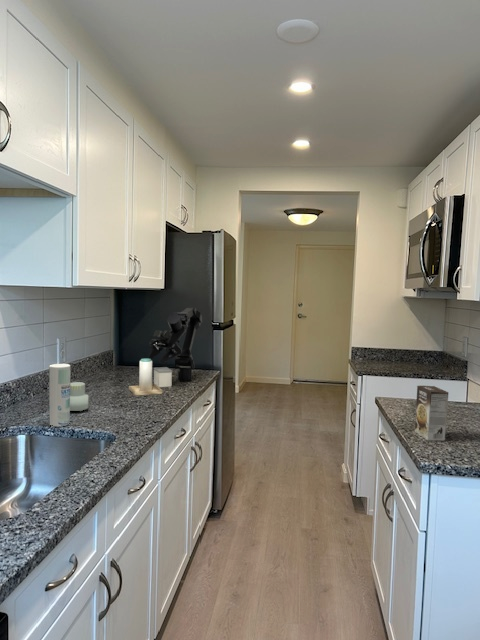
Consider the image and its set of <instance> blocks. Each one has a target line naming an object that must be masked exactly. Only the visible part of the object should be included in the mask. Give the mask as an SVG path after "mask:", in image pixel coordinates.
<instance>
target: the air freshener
mask: <svg viewBox="0 0 480 640" xmlns="http://www.w3.org/2000/svg"><path fill="white" fill-rule="evenodd" d="M87 409H89V394H87V393H86V383H85V382H80V381H78V382H77V381H76V382H75V381H74V382H70V411H80V412H84V411H86V410H87ZM83 410H84V411H83Z"/></svg>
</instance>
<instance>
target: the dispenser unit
mask: <svg viewBox="0 0 480 640" xmlns="http://www.w3.org/2000/svg"><path fill="white" fill-rule="evenodd" d="M172 376H173V370H172V369H171V368H169V367H167V366H162V367H153V385H156V386H158V387H159V388H166V387H172V379H173V377H172Z"/></svg>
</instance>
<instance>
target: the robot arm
mask: <svg viewBox="0 0 480 640" xmlns="http://www.w3.org/2000/svg"><path fill="white" fill-rule="evenodd" d="M166 321H167V323H168V326H169V329H170V330H165V329H164V331H163V330H160V329H156V330H155V331H154V333H153V337H154V338H157V339H150V341H149V342H148V343H149V346H150V351H149V354H148V356H147V358H148V359H151V360H153V359H154V358H155V357H156V356H158V355H159V354H160V353H161V351H163V350H164V349H165V352H164V354H163V355H162V357H160V360H159V361H158V362H159V364H163V363H164V362H167V361H168V360H171V359H172V358H174V364H175V365H174V367H175V370H176V369H177V370H176V381H178V382H180V383H184V382H193V379H192V373H193V372H192V371H193V370H195V361H194V359H193V355H192V350H193V349H192V348H193V344H194V340H195V336H196V332H197V330H198V329H199V328H200V327H201V324H202V323H203V315H202V312H200V311H199V310H198V309H197V308H196V307H195V306H186V307H185V309H183V310H182V311H181V312H178V311H173V312H172V313H171V314H169V315H168V316H167V318H166ZM185 326H186V327H185ZM183 335H185V336H184V340H183V343H182V347H180V346H179V345H178V344H179V343H180V339H181V337H183Z"/></svg>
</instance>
